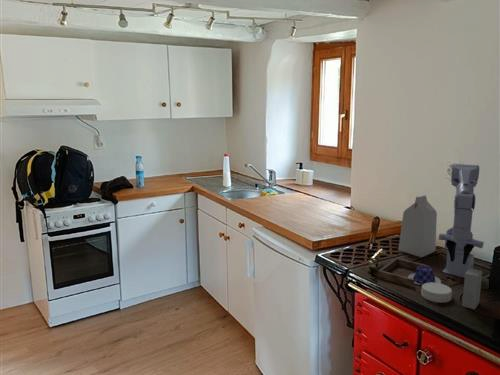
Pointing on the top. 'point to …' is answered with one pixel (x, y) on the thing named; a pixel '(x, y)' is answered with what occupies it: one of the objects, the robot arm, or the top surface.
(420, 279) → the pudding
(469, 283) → the skincare box
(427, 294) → the white short cylinder
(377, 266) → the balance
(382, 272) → the holder
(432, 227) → the milk
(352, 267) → the top surface
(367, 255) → the top surface
